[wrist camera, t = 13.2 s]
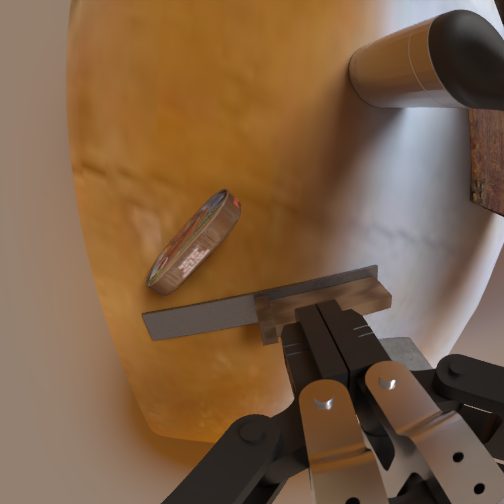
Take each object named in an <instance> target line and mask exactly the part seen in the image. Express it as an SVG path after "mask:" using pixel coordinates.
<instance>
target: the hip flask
mask: <svg viewBox="0 0 504 504" xmlns="http://www.w3.org/2000/svg"><path fill="white" fill-rule="evenodd" d="M379 342H380V343H381V345H382V346H383V348H384V349H385V351H386V352H387V354H388V355H389V357H390V358H391V360H392V361H395V362H399V363H401V364H403V365H404V366H406V367H407V368H408V369H409V370H412V371H419V370H428V369H433V368H432V367H431V365H430V364H429V362H428V361H427V360H426V358H425V357H424V356H423V355H422V353H421V352H420V351H419V349H418V348H417V347H416V345H415V344H414V343H413V341H412V340H411V339H410V338H408V337H397V338H386V339H379Z"/></svg>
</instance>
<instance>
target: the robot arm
mask: <svg viewBox="0 0 504 504" xmlns="http://www.w3.org/2000/svg"><path fill="white" fill-rule="evenodd" d="M494 1H495V4H496V7H497V10H498V12H499V15H500V18H501V21H502V24H503V25H504V0H494ZM349 75H350V79H351V83H352V85H353V87H354V89H355V91H356V92H357V93H358V95H359V96H360V97H361V98H362V99H363V100H364V101H366V102H367V103H369V104H370V105H373V106H375V107H379V108H408V107H440V108H470V109H488V110H499V111H504V40H503V38H502V37H501V35H500V34H499V33H498V32H497V30H496V29H495V28H494V27H493V26H492V25H491V24H490V23H489V22H488V21H487V20H486V19H484V18H483V17H481V16H480V15H478V14H476V13H474V12H472V11H468V10H454V11H450V12H447V13H444V14H441V15H438V16H435V17H433V18H430V19H427V20H424V21H422V22H420V23H417V24H414V25H412V26H409V27H407V28H404V29H402V30H399V31H397V32H395V33H392V34H390V35H388V36H385V37H383V38H381V39H379V40H376V41H374V42H372V43H370V44H368V45H366V46H364V47H362V48H360V49H358V50H357V51H356V52H355V53H354V55H353V56H352V58H351V61H350V65H349ZM295 319H296V323H291V324H287V325H284V326H283V330H282V333H281V340H282V346H283V352H284V359H285V365H286V368H287V372H288V375H289V380H290V383H291V387H292V391H293V394H294V398H295V399H294V401H293V402H292V404H291V405H290V406H289V407H288V408H287V409H286V410H284V411H283V412H281V413H279V414H277V415H275V416H273V417H271V418H270V417H268V416H265V415H259V414H253V415H247V416H244V417H241V418H240V419H238V420H236V421H235V422H234V423H233V424H232V425H231V426H230V427H229V428H228V430H227V431H226V432H225V433H224V434H223V436H222V437H221V438H220V439H219V440H218V442H217V443H216V444H215V445H214V446H213V448H212V449H211V450H210V451H209V452H208V453H207V455H206V456H205V457H204V458H203V459H202V460H201V461H200V462H199V463H198V465H197V466H196V467H195V468H194V469H193V470H192V471H191V472H190V474H189V475H188V476H187V477H186V478H185V479H184V480H183V481H182V482H181V483H180V484H179V485H178V487H177V488H176V489H175V490H174V491H173V492H172V493H171V494H170V495H169V496H168V497H167V498H166V499H165V500H164V501H163V502H162V503H161V504H272V502H273V501H274V500H275V498H276V496H277V495H278V494H279V492H280V491H281V489H282V488H283V486H284V485H285V483H286V482H287V480H288V478H290V477H292V476H294V475H295V474H298V473H299V472H301V471H303V470H305V469H307V468H308V473H309V479H310V485H311V492H312V500H313V504H504V465H503V464H500V463H497V462H495V461H494V459H493V458H496V459H499V460H503V461H504V367H501V366H498V365H494V364H491V363H487V362H484V361H481V360H477V359H474V358H471V357H467V356H464V355H460V354H451V355H448V356H445V357H443V358H442V359H441V360H440V361H439V363H438V364H437V367H436V369H428V370H419V371H412V370H409V369H408V368H407V367H406V366H404V365H403V364H401V363H399V362H395V361H392V360H391V358H390V357H389V355H388V354H387V352H386V351H385V349H384V348H383V346H382V345H381V343H380V342H379V340H378V339H377V337H376V336H375V334H374V333H373V331H372V330H371V328H370V327H369V326H368V324H367V322H366V321H365V319H364V318H363V316H362V315H361V314H359V313H357V312H356V311H354V310H352V309H348V310H344V311H342V309H341V308H340V306H339V304H338V303H337V301H336V300H335V299H332V300H328V301H324V302H320V303H316V304H312V305H308V306H303V307H299V308H295ZM464 404H466V405H469V406H473V407H476V408H479V409H482V410H485V411H489V412H492V413H488V412H484V411H481V410H478V409H475V408H472V407H468V406H465V405H464ZM356 415H357V417H358V419H359V423H358V420H357V417H356ZM492 457H493V458H492Z"/></svg>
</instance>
